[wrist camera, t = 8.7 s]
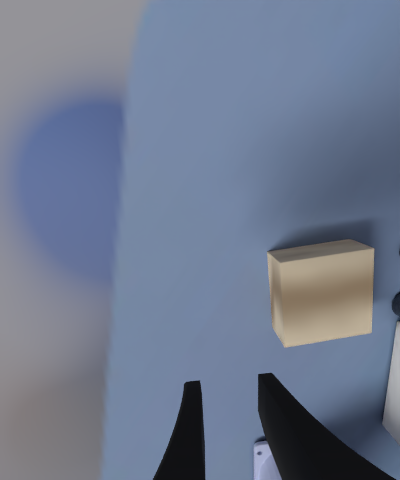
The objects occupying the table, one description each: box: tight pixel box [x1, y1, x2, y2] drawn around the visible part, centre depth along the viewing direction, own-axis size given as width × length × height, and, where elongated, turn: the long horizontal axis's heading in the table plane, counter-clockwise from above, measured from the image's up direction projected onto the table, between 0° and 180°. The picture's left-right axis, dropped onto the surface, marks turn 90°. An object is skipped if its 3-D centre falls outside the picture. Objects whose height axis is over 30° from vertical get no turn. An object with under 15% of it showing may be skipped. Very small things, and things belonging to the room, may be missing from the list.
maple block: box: [267, 239, 374, 348], centre depth 22 cm, size 7×7×3 cm
